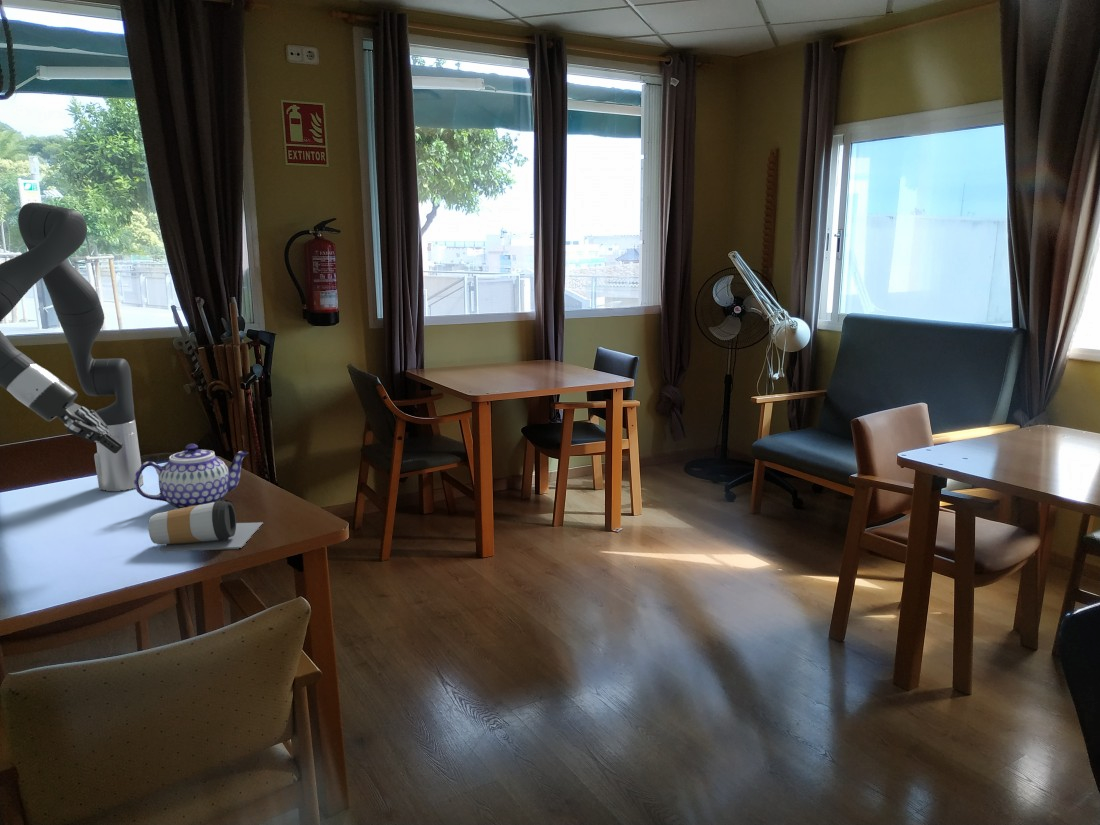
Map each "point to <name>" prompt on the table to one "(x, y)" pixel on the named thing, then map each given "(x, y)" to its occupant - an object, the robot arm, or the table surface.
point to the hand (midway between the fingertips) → (120, 449)
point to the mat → (234, 542)
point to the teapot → (193, 477)
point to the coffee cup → (194, 524)
